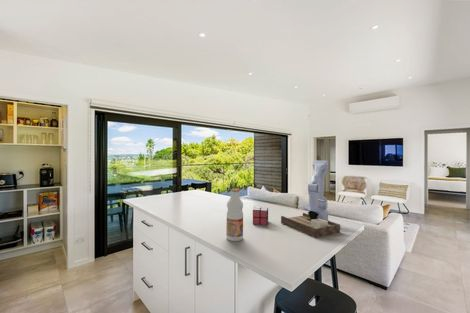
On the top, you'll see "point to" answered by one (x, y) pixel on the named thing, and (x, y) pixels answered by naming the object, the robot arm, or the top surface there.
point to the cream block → (319, 223)
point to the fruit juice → (234, 217)
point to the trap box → (305, 226)
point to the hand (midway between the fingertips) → (313, 223)
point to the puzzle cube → (260, 215)
